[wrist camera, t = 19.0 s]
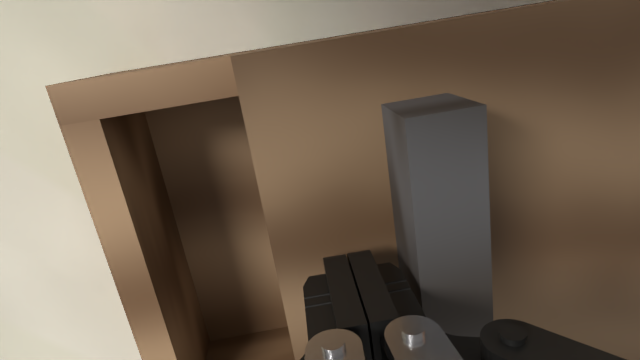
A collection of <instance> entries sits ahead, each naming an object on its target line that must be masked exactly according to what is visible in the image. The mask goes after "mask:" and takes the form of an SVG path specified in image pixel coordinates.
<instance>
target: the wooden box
mask: <svg viewBox="0 0 640 360" xmlns="http://www.w3.org/2000/svg"><path fill="white" fill-rule="evenodd" d="M559 1H565V0H553V1H547V2H541V3H535V4H529V5H523V6H517V7H511V8H505V9H499V10H493V11H487V12H481V13H475V14H468V15H462V16H456V17H450V18H444V19H438V20H432V21H426V22H420V23H414V24H408V25H402V26H396V27H389V28H383V29H377V30H371V31H365V32H359V33H353V34H347V35H341V36H335V37H329V38H323V39H317V40H311V41H304V42H298V43H292V44H286V45H280V46H274V47H268V48H262V49H256V50H250V51H244V52H238V53H232V54H225V55H219V56H213V57H207V58H201V59H195V60H189V61H183V62H177V63H171V64H165V65H159V66H153V67H147V68H140V69H134V70H128V71H122V72H116V73H110V74H105V75H100V76H95V77H89V78H84V79H79V80H74V81H69V82H64V83H59V84H53V85H48V86H46V89H47V92H48V95H49V98H50V100H51V103H52V106H53V109H54V112H55V115H56V117H57V120H58V123H59V126H60V129H61V132H62V134H63V137H64V140H65V143H66V146H67V149H68V151H69V154H70V157H71V160H72V163H73V166H74V168H75V171H76V174H77V177H78V180H79V183H80V185H81V188H82V191H83V194H84V197H85V200H86V202H87V205H88V208H89V211H90V214H91V217H92V219H93V222H94V225H95V228H96V231H97V234H98V236H99V239H100V242H101V245H102V248H103V251H104V253H105V256H106V259H107V262H108V265H109V268H110V270H111V273H112V276H113V279H114V282H115V285H116V287H117V290H118V293H119V296H120V299H121V302H122V304H123V307H124V310H125V313H126V316H127V319H128V321H129V324H130V327H131V330H132V333H133V336H134V338H135V341H136V344H137V347H138V350H139V353H140V355H141V358H142V360H295V357H294V352H293V348H292V343H291V338H290V334H289V329H288V324H287V320H286V315H285V310H284V306H283V301H282V296H281V292H280V287H279V282H278V278H277V273H276V268H275V264H274V259H273V254H272V250H271V245H270V240H269V236H268V231H267V226H266V221H265V217H264V212H263V207H262V203H261V198H260V193H259V189H258V184H257V179H256V175H255V170H254V165H253V161H252V156H251V151H250V147H249V142H248V137H247V133H246V128H245V123H244V119H243V114H242V109H241V105H240V100H239V95H238V91H237V86H236V81H235V76H234V72H233V67H232V62H231V58H230V56H232V55H237V54H243V53H249V52H255V51H262V50H268V49H274V48H280V47H286V46H292V45H298V44H304V43H310V42H316V41H322V40H328V39H334V38H340V37H346V36H353V35H359V34H365V33H371V32H377V31H383V30H389V29H395V28H401V27H407V26H413V25H419V24H425V23H431V22H437V21H444V20H450V19H456V18H462V17H468V16H474V15H480V14H486V13H492V12H498V11H504V10H510V9H516V8H522V7H528V6H535V5H541V4H547V3H553V2H559Z"/></svg>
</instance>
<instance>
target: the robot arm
mask: <svg viewBox="0 0 640 360" xmlns="http://www.w3.org/2000/svg"><path fill="white" fill-rule="evenodd" d="M323 263H324V270H325V274H320V275H314V276H309V277H308V279H307V280H306V282H305V284H304V286H303V293H304V303H305V313H306V324H307V334H308V343H307V345H306V347H305V354H304V356H303V357H302V358H301V359H300V360H627V359H624V358H621V357H618V356H616V355H613V354H610V353H608V352H605V351H602V350H599V349H597V348H594V347H591V346H589V345H586V344H583V343H580V342H578V341H575V340H572V339H570V338H567V337H564V336H561V335H559V334H556V333H553V332H551V331H548V330H545V329H543V328H540V327H537V326H534V325H532V324H529V323H526V322H523V321H520V320H515V319H498V320H494V321H491V322H489V323H487V324H486V325H485V326H483V328H482V329H481V332H480V337H467V336H456V335H451V334H447V333H444V331H443V330H442V328H441V327H440V326H439V324H438V323H436V322H435V321H433V320H432V319H430V318H427V317H426V316H425V314H424V312H423V310H422V308H421V306H420V304H419V303H418V301H417V299H416V297H415V295H414V293H413V291H412V289H411V288H410V286H409V284H408V282H407V281H406V278H405V276H404V274H403V273H402V271H401V269H399V268H398V267H396V266H395V265H393V264H392V263H390V262H388V263H382V264H376V262H375V260H374V257H373V255H372V253H371V251H370V250H364V251H359V252H353V253H347V257H346V254H342V255H336V256H330V257H325V258H323Z"/></svg>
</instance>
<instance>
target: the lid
mask: <svg viewBox="0 0 640 360" xmlns="http://www.w3.org/2000/svg"><path fill="white" fill-rule="evenodd" d="M230 58H231V62H232V67H233V72H234V76H235V81H236V86H237V91H238V95H239V100H240V105H241V109H242V114H243V119H244V123H245V128H246V133H247V137H248V142H249V147H250V151H251V156H252V161H253V165H254V170H255V175H256V179H257V184H258V189H259V193H260V198H261V203H262V207H263V212H264V217H265V221H266V226H267V231H268V236H269V240H270V245H271V250H272V254H273V259H274V264H275V268H276V273H277V278H278V282H279V287H280V292H281V296H282V301H283V306H284V310H285V315H286V320H287V324H288V329H289V334H290V338H291V343H292V348H293V352H294V357H295V360H300V359H301V358H302V357H303V356H304V354H305V347H306V345H307V343H308V334H307V324H306V313H305V303H304V293H303V286H304V284H305V282H306V280H307V279H308V277H309V276H314V275H320V274H325V270H324V263H323V258H325V257H330V256H336V255H342V254H346V257H347V253H353V252H359V251H364V250H370V251H371V253H372V255H373V257H374V260H375V262H376V264H382V263H388V262H390V263H392V264H393V265H395V266H396V267H398V268H399V269H401V271H402V273H403V274H404V276H405V278H406V281H407V282H408V284H409V286H410V288H411V289H412V291H413V293H414V295H415V297H416V299H417V301H418V303H419V304H420V306H421V308H422V310H423V312H424V314H425V316H426V317H427V318H430V319H432V320H433V321H435V322H436V323H438V324H439V326H440V327H441V328H442V330H443V331H444V333H447V334H451V335H456V336H467V337H480V332H481V329H482V328H483V326H485V325H486V324H487V323H489V322H491V321H494V320H498V319H515V320H520V321H523V322H526V323H529V324H532V325H534V326H537V327H540V328H543V329H545V330H548V331H551V332H553V333H556V334H559V335H561V336H564V337H567V338H570V339H572V340H575V341H578V342H580V343H583V344H586V345H589V346H591V347H594V348H597V349H599V350H602V351H605V352H608V353H610V354H613V355H616V356H618V357H621V358H624V359H627V360H640V0H565V1H559V2H553V3H547V4H541V5H535V6H528V7H522V8H516V9H510V10H504V11H498V12H492V13H486V14H480V15H474V16H468V17H462V18H456V19H450V20H444V21H437V22H431V23H425V24H419V25H413V26H407V27H401V28H395V29H389V30H383V31H377V32H371V33H365V34H359V35H353V36H346V37H340V38H334V39H328V40H322V41H316V42H310V43H304V44H298V45H292V46H286V47H280V48H274V49H268V50H262V51H255V52H249V53H243V54H237V55H232V56H230Z"/></svg>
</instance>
